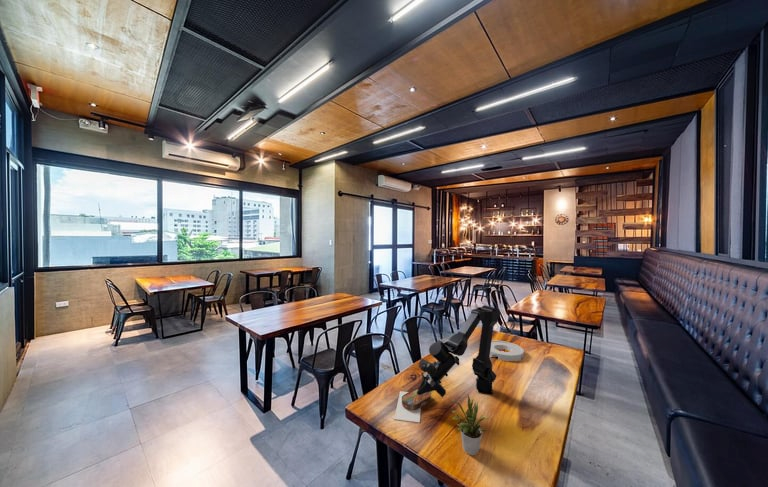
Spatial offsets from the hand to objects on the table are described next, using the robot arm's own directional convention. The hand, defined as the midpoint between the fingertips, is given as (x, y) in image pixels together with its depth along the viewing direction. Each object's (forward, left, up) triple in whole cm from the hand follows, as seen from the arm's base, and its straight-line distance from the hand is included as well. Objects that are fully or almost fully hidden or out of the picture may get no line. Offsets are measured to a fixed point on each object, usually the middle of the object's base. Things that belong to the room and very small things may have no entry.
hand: (417, 394), depth 116 cm
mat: (+4, -2, -7) cm, 8 cm away
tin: (-3, -2, -5) cm, 6 cm away
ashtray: (-49, -67, -7) cm, 83 cm away
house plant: (-18, +17, -7) cm, 26 cm away
